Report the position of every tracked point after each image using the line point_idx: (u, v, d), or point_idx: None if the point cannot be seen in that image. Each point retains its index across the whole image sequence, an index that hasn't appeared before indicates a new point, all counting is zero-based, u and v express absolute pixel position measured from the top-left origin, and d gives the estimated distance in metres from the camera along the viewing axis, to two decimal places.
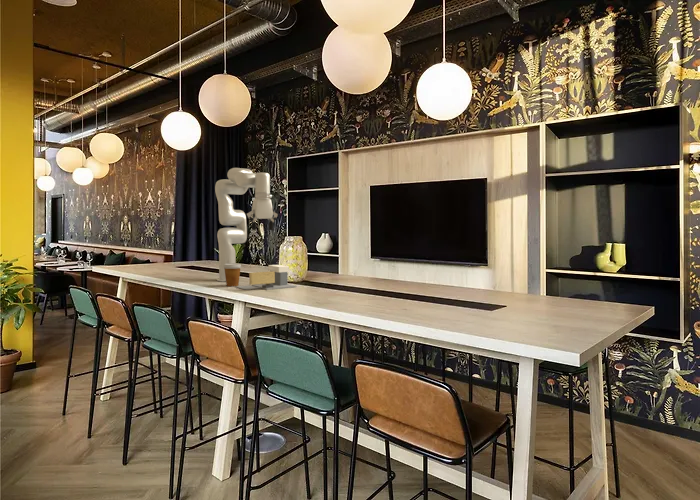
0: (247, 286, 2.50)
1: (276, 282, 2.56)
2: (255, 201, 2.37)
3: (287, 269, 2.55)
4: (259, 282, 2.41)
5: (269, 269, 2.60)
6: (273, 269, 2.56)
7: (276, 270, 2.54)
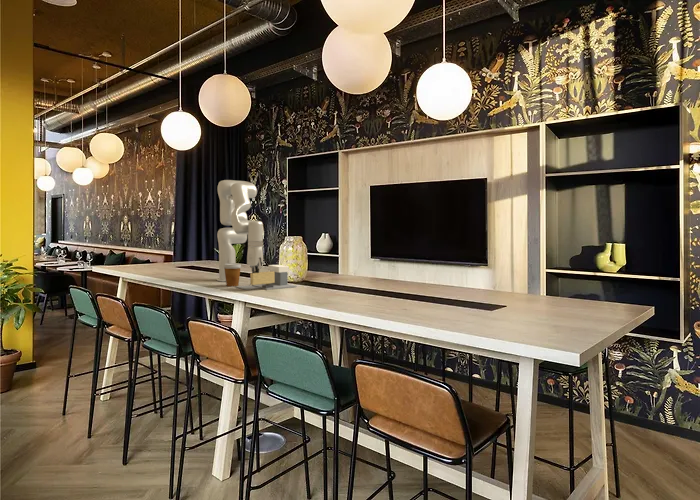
0: (247, 286, 2.50)
1: (276, 282, 2.56)
2: (260, 249, 2.40)
3: (287, 269, 2.55)
4: (260, 282, 2.41)
5: (269, 269, 2.60)
6: (273, 269, 2.56)
7: (276, 270, 2.54)
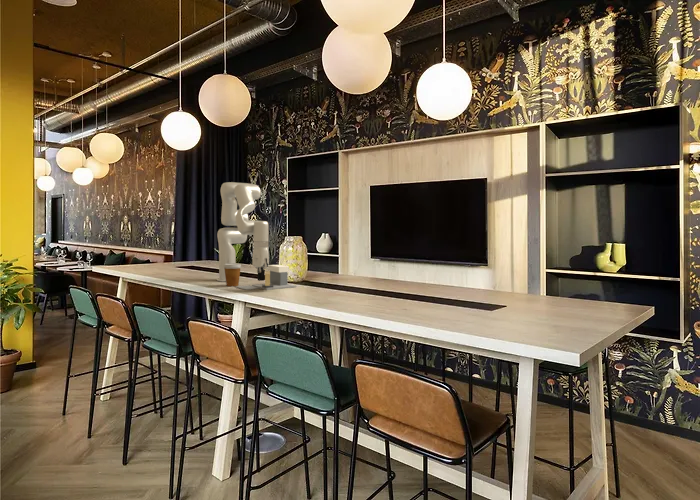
0: (247, 286, 2.50)
1: (276, 282, 2.56)
2: (266, 250, 2.36)
3: (287, 269, 2.55)
4: None
5: (269, 269, 2.60)
6: (273, 269, 2.56)
7: (276, 270, 2.54)
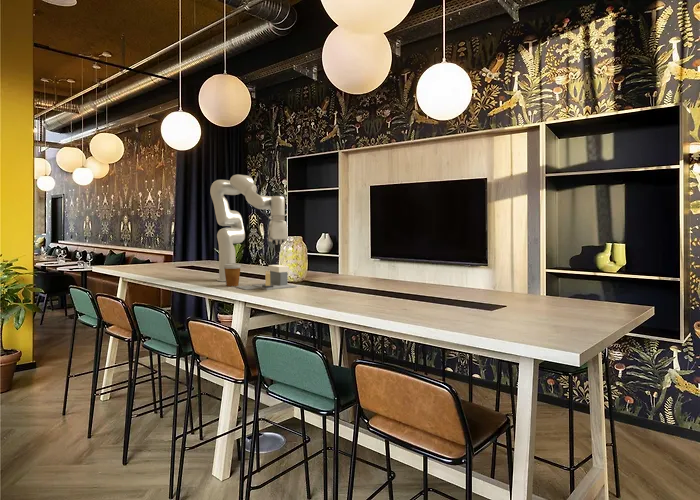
0: (247, 286, 2.50)
1: (276, 282, 2.56)
2: None
3: (287, 269, 2.55)
4: None
5: (269, 269, 2.60)
6: (273, 269, 2.56)
7: (276, 270, 2.54)
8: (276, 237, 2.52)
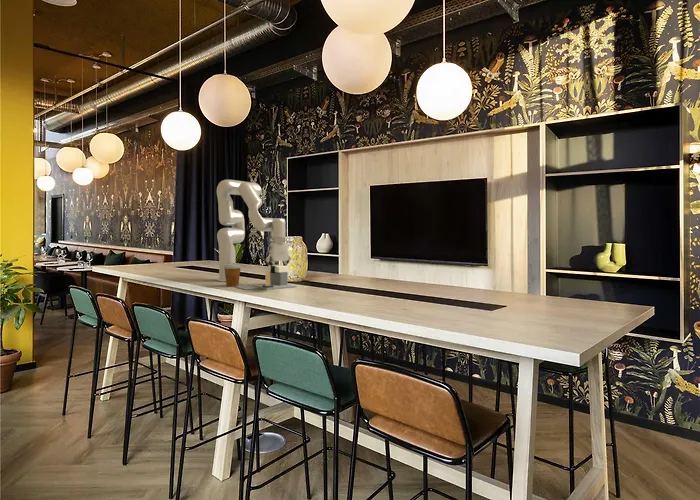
0: (247, 286, 2.50)
1: (276, 282, 2.56)
2: None
3: (287, 269, 2.55)
4: None
5: (269, 269, 2.60)
6: None
7: (276, 270, 2.54)
8: (277, 259, 2.54)
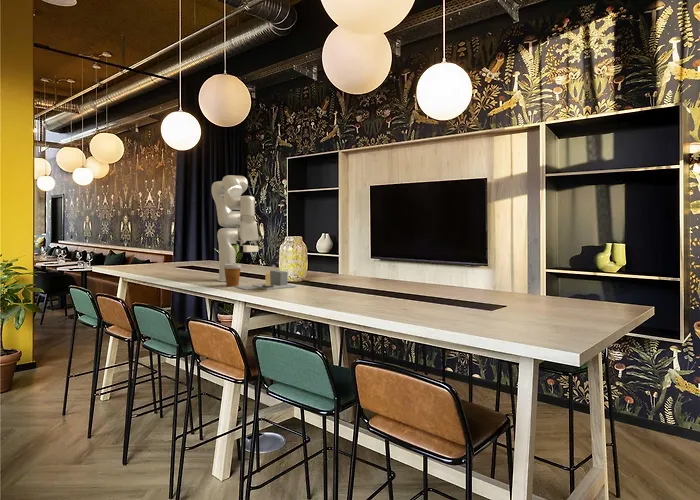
0: (247, 286, 2.50)
1: (276, 282, 2.56)
2: None
3: (256, 249, 2.43)
4: None
5: (238, 249, 2.48)
6: None
7: (244, 250, 2.42)
8: (246, 238, 2.43)
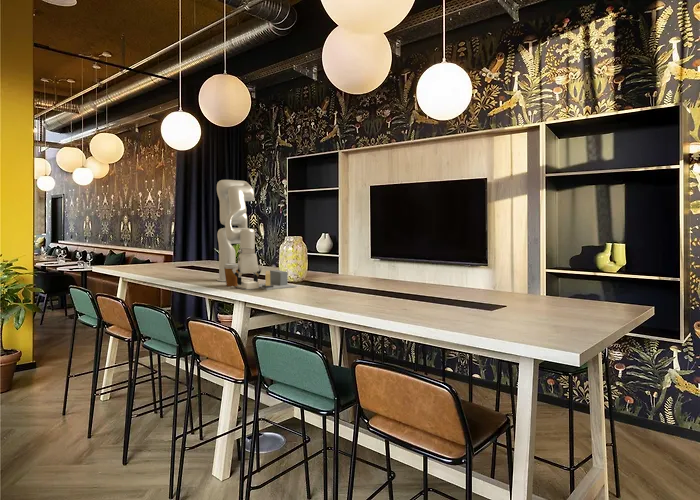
0: None
1: (276, 282, 2.56)
2: None
3: (256, 285, 2.44)
4: None
5: (238, 285, 2.49)
6: (242, 285, 2.46)
7: (245, 286, 2.43)
8: (246, 271, 2.44)
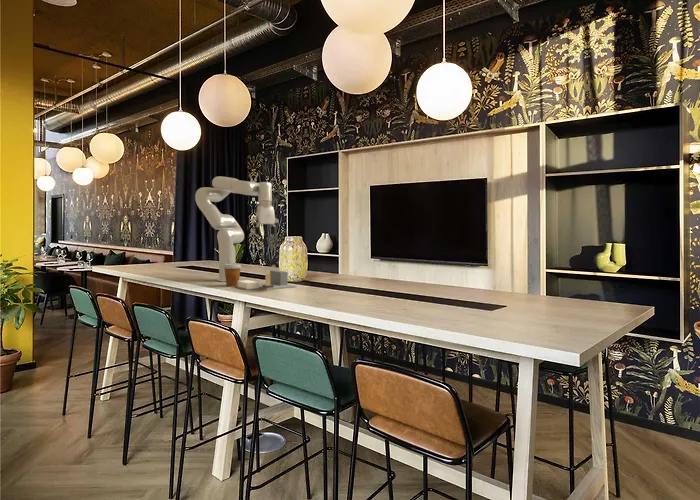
0: None
1: (276, 282, 2.56)
2: None
3: (256, 285, 2.44)
4: None
5: (238, 285, 2.49)
6: (242, 285, 2.46)
7: (245, 286, 2.43)
8: (264, 222, 2.60)
